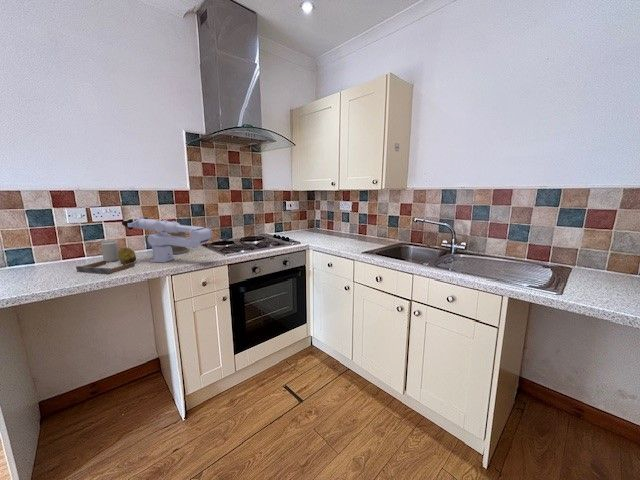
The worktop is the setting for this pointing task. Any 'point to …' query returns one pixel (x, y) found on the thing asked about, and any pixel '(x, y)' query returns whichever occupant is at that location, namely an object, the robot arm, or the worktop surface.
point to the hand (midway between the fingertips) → (128, 222)
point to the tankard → (178, 249)
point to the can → (110, 250)
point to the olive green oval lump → (127, 255)
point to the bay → (95, 269)
